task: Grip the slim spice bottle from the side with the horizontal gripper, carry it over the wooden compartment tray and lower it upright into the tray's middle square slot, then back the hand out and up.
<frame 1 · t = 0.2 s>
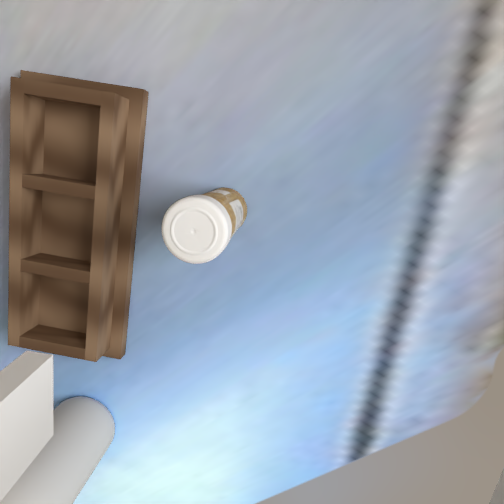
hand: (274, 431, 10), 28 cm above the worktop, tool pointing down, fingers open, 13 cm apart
milk bottle: (87, 421, 44), on the worktop
wooden compartment tray: (80, 224, 39), on the worktop
spice bottle: (225, 210, 37), on the worktop
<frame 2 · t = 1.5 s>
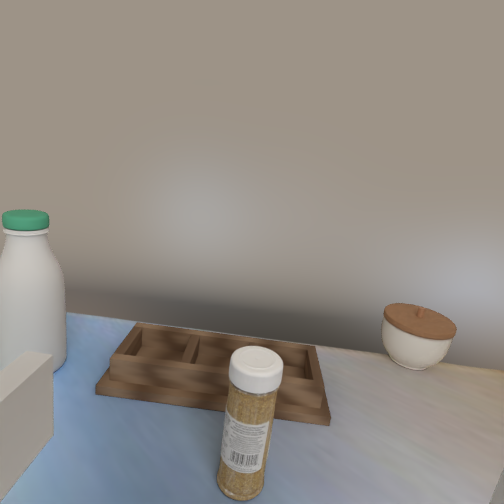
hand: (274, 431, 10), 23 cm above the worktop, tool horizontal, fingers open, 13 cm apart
milk bottle: (33, 365, 48), on the worktop
wooden compartment tray: (218, 379, 49), on the worktop
lidded jar: (407, 360, 61), on the worktop
spice bottle: (239, 482, 35), on the worktop
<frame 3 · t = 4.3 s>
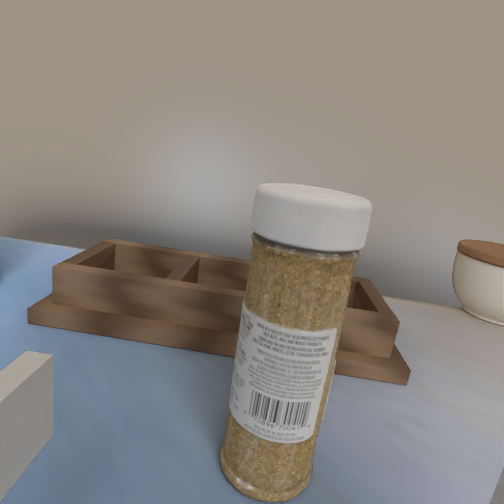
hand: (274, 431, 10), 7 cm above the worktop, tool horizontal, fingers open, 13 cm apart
wooden compartment tray: (225, 318, 32), on the worktop
lidded jar: (490, 316, 43), on the worktop
spice bottle: (263, 467, 18), on the worktop
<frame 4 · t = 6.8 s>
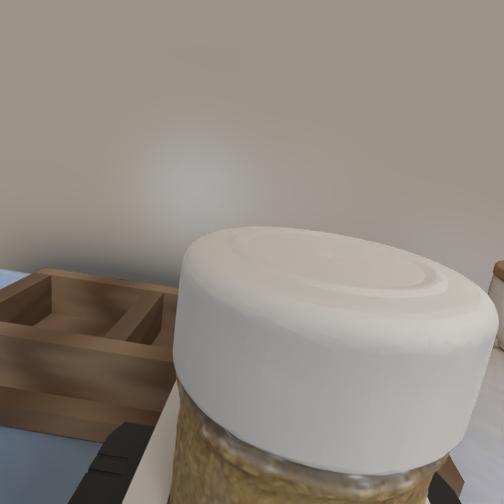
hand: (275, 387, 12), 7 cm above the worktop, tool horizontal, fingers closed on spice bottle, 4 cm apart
wooden compartment tray: (196, 380, 24), on the worktop
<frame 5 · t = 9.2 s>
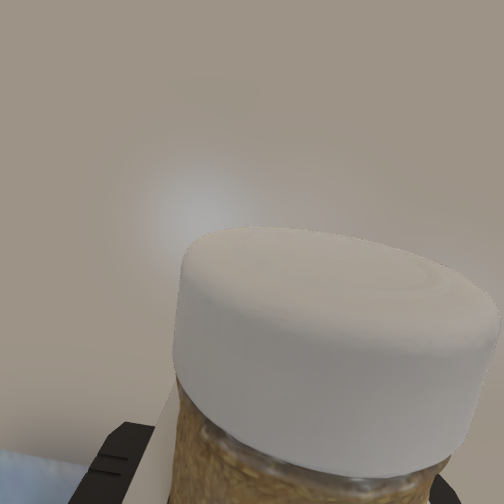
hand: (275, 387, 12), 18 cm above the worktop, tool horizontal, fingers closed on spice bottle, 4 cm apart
when the fingers open (10 cm above the worktop, at t = 11.6 s): spice bottle drops 2 cm, resting on wooden compartment tray.
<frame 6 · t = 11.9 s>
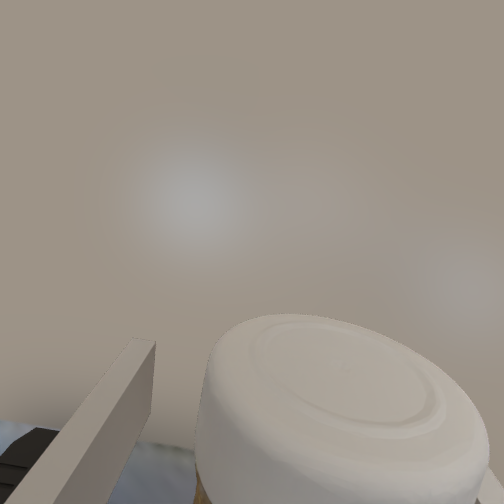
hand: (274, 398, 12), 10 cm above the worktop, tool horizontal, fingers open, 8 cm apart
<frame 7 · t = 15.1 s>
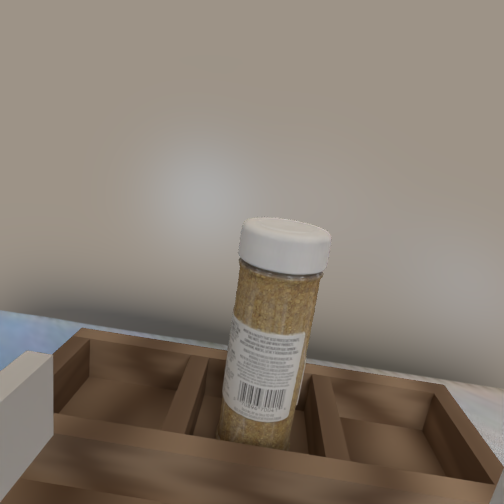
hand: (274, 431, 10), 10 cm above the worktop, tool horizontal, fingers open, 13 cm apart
wooden compartment tray: (248, 457, 22), on the worktop
spice bottle: (250, 444, 22), point 1 cm above the worktop, touching wooden compartment tray
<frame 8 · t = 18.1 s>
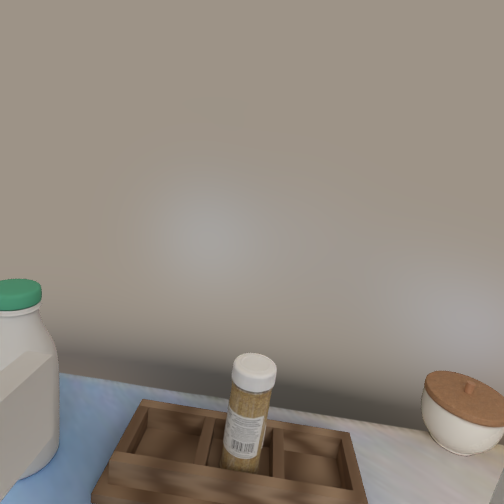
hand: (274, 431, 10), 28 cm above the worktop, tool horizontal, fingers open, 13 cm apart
milk bottle: (19, 456, 40), on the worktop
wooden compartment tray: (236, 475, 42), on the worktop
lidded jar: (451, 440, 53), on the worktop
spice bottle: (238, 468, 41), point 1 cm above the worktop, touching wooden compartment tray
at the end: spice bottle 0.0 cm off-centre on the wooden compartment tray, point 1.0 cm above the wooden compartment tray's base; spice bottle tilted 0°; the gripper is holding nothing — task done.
